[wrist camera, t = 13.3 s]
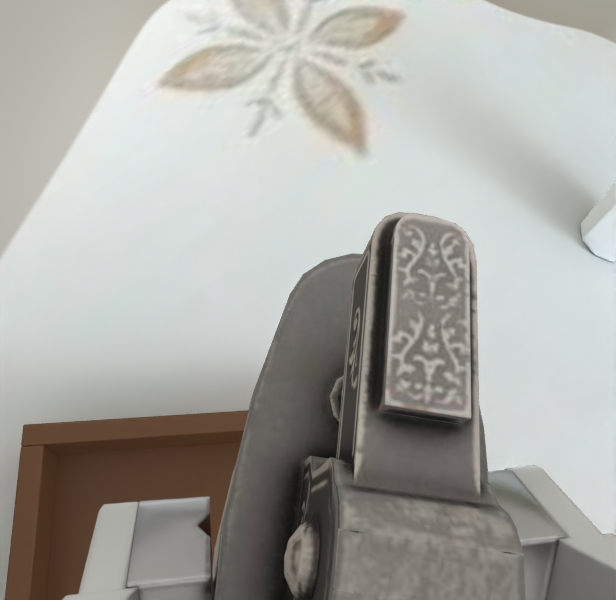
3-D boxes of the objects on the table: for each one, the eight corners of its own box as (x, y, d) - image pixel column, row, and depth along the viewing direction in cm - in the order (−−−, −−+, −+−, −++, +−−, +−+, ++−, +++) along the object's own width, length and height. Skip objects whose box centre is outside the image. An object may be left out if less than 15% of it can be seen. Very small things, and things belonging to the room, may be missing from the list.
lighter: (340, 780, 12) (727, 1356, 3) (177, 764, 12) (86, 1352, 3) (367, 404, 16) (582, 172, 7) (242, 383, 15) (294, 113, 6)
